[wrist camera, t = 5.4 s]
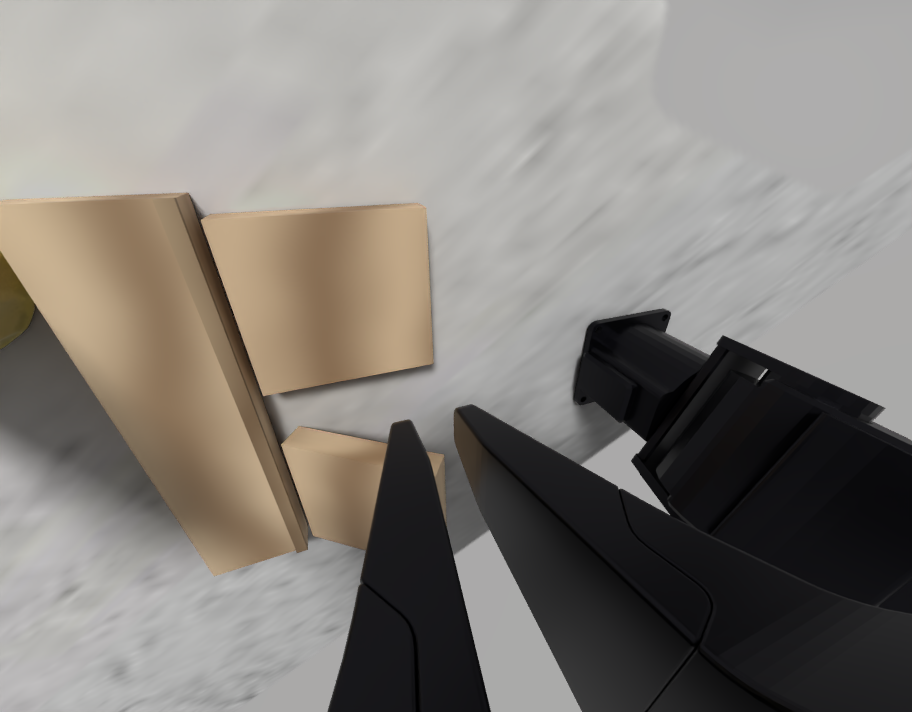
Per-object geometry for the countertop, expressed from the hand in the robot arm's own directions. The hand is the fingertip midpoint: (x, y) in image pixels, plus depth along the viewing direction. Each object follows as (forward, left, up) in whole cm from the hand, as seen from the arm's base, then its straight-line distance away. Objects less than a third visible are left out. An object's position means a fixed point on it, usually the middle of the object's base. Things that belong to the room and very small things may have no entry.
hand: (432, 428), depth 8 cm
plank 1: (+1, +1, -11) cm, 11 cm away
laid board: (+8, +6, -11) cm, 15 cm away
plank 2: (+1, +11, -8) cm, 14 cm away
